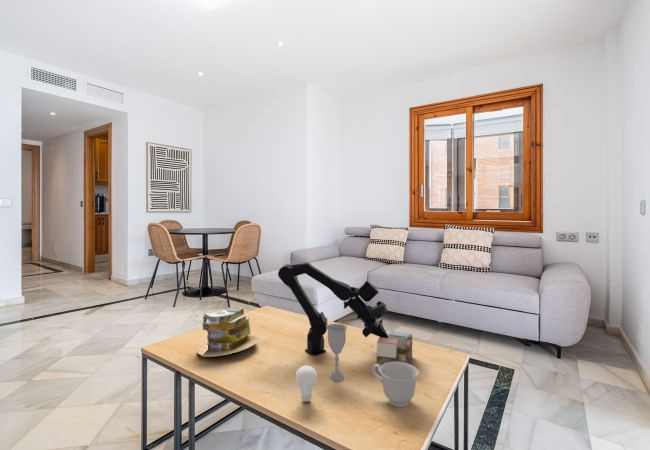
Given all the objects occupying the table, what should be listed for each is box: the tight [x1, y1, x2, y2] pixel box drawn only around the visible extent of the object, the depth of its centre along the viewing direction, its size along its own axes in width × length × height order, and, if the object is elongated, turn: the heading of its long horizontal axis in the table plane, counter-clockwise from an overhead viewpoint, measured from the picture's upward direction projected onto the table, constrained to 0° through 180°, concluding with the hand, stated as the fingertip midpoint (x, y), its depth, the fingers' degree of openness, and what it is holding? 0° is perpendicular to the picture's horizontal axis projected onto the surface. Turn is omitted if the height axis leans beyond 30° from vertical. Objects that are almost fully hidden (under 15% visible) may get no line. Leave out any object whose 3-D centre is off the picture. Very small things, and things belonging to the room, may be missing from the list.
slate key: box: [388, 330, 409, 351], centre depth 135 cm, size 7×4×6 cm, turn 72°
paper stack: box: [200, 307, 259, 358], centre depth 143 cm, size 25×25×17 cm
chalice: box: [326, 323, 348, 382], centre depth 119 cm, size 7×7×18 cm
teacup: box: [371, 362, 420, 408], centre depth 105 cm, size 12×15×10 cm
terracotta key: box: [376, 336, 397, 358], centre depth 128 cm, size 7×4×6 cm, turn 72°
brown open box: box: [376, 333, 413, 366], centre depth 131 cm, size 12×13×10 cm
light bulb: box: [295, 364, 318, 403], centre depth 104 cm, size 7×7×11 cm
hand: (388, 339), depth 136 cm, fingers closed
